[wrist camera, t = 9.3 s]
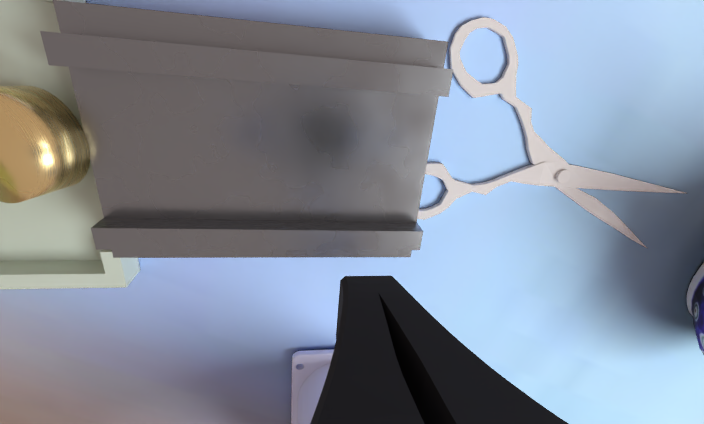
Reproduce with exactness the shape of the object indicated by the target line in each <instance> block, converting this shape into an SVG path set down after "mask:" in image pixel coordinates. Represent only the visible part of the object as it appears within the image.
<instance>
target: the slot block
mask: <svg viewBox="0 0 704 424" xmlns="http://www.w3.org/2000/svg"><path fill="white" fill-rule="evenodd" d="M53 4H54V8H55V12H56V16H57V21H58V25H59V29H60V33H57V32H46V31H40V33H41V37H42V41H43V45H44V49H45V52H46V56H47V60H48V64H49V65H52V66H65V67H69V71H70V76H71V80H72V84H73V88H74V93H75V97H76V101H77V105H78V110H79V114H80V118H81V122H82V127H83V131H84V133H85V136H86V138H87V142H88V145H89V151H90V160H91V165H92V169H93V173H94V177H95V182H96V186H97V190H98V194H99V199H100V203H101V207H102V211H103V216H104V218H103V219H101V220H100V221H99V222H98V223H96V224H95V225H94V226H93V227H91V231H92V235H93V239H94V243H95V247H96V250H112V254H113V258H185V257H410V256H411V250H420V246H421V240H422V235H423V231H422V229H421V228H420V226H419V225H418V224H417V216H418V211H419V205H420V199H421V194H422V188H423V182H424V176H425V171H426V165H427V159H428V154H429V148H430V142H431V137H432V131H433V125H434V120H435V114H436V108H437V103H438V97H439V96H446V97H448V96H449V90H450V85H451V80H452V74H453V69H444V63H445V57H446V51H447V46H448V42H446V41H436V40H427V39H417V38H408V37H399V36H389V35H380V34H370V33H361V32H352V31H342V30H333V29H324V28H314V27H305V26H295V25H286V24H277V23H267V22H258V21H249V20H239V19H230V18H220V17H211V16H202V15H192V14H183V13H173V12H164V11H155V10H145V9H136V8H127V7H117V6H108V5H98V4H89V3H80V2H70V1H61V0H53Z"/></svg>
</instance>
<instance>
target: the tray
mask: <svg viewBox="0 0 704 424" xmlns="http://www.w3.org/2000/svg"><path fill="white" fill-rule="evenodd" d="M61 1H70V2H80V3H86V0H61ZM40 31H46V32H57V33H60V29H59V25H58V21H57V16H56V12H55V8H54V4H53V0H0V86H25V85H26V86H35V87H38V88H41V89H44V90H46V91H48V92H50V93H51V94H53V95H54V96H56V97H57V98H58V99H59V100H61V101H62V102H63V103H64V104H65V105H66V106H67V107H68V108H69V109H70V110H71V112H72V113H73V114H74V116H75V117H76V118H77V120H78V122H79V123H80V125H81V127H82V122H81V118H80V114H79V110H78V105H77V101H76V97H75V93H74V88H73V84H72V80H71V76H70V71H69V67H65V66H52V65H49V64H48V60H47V56H46V52H45V49H44V45H43V41H42V37H41V33H40ZM82 129H83V127H82ZM103 218H104V216H103V211H102V207H101V203H100V199H99V194H98V190H97V186H96V182H95V177H94V173H93V169H92V165H91V160H90V165H89V169H88V172H87V174H86V176H85V177H84V178H83V179H82V180H81V181H80V182H79V183H77V184H75V185H73V186H70V187H67V188H64V189H60V190H57V191H54V192H51V193H48V194H45V195H41V196H38V197H35V198H32V199H29V200H26V201H23V202H19V203H4V202H0V289H52V288H118V287H128V285H129V284H130V283H131V281H132V280H133V279H134V278H135V276H136V275H137V274H138V272H139V271H140V266H139V261H138V258H113V254H112V250H96V247H95V243H94V239H93V235H92V231H91V227H93V226H94V225H95V224H96V223H98V222H99V221H100V220H101V219H103Z"/></svg>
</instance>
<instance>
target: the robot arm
mask: <svg viewBox="0 0 704 424" xmlns="http://www.w3.org/2000/svg"><path fill="white" fill-rule="evenodd" d="M298 364H301V365H298ZM291 424H568V423H567V422H565V421H564V420H562V419H560V418H559V417H557V416H556V415H555V414H553V413H552V412H550V411H549V410H547V409H546V408H544V407H543V406H542V405H540V404H539V403H537V402H536V401H534V400H533V399H532V398H530V397H529V396H528V395H526V394H525V393H524V392H522V391H521V390H520V389H518V388H517V387H516V386H514V385H513V384H511V383H510V382H509V381H507V380H506V379H505V378H503V377H502V376H501V375H499V374H498V373H497V372H496V371H494V370H493V369H492V368H491V367H489V366H488V365H487V364H486V363H484V362H483V361H482V360H481V359H480V358H479V357H477V356H476V355H475V354H474V353H473V352H471V351H470V350H469V349H468V348H467V347H465V346H464V345H463V344H462V343H461V342H460V341H459V340H457V339H456V338H455V337H454V336H453V335H452V334H451V333H450V332H449V331H447V330H446V329H445V328H444V327H443V326H442V325H441V324H440V323H439V322H438V321H437V320H436V319H435V318H434V317H433V316H431V315H430V314H429V313H428V312H427V311H426V310H425V309H424V308H423V307H422V306H421V305H420V304H419V303H418V302H417V301H416V300H415V299H414V298H413V297H412V296H411V295H410V294H409V293H408V292H407V291H406V290H405V289H404V288H403V287H402V286H401V285H400V284H399V283H398V282H397V281H396V280H395V279H394V278H393V277H392V276H345V277H344V278H343V279H342V280H341V282H340V294H339V306H338V318H337V331H336V344H335V348H334V349H330V350H309V351H297V352H295V353H294V354H293V356H292V396H291Z"/></svg>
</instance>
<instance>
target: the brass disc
mask: <svg viewBox="0 0 704 424" xmlns="http://www.w3.org/2000/svg"><path fill="white" fill-rule="evenodd" d="M89 165H90V151H89V145H88V142H87V138H86V136H85V133H84V131H83V129H82V127H81V125H80V123H79V122H78V120H77V118H76V117H75V116H74V114H73V113H72V112H71V110H70V109H69V108H68V107H67V106H66V105H65V104H64V103H63V102H62V101H61V100H59V99H58V98H57V97H56V96H54V95H53V94H51V93H50V92H48V91H46V90H44V89H41V88H38V87H35V86H26V85H25V86H0V202H4V203H19V202H23V201H26V200H29V199H32V198H35V197H38V196H41V195H45V194H48V193H51V192H54V191H57V190H60V189H64V188H67V187H70V186H73V185H75V184H77V183H79V182H80V181H81V180H82V179H83V178H84V177H85V176H86V174H87V172H88V169H89Z"/></svg>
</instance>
